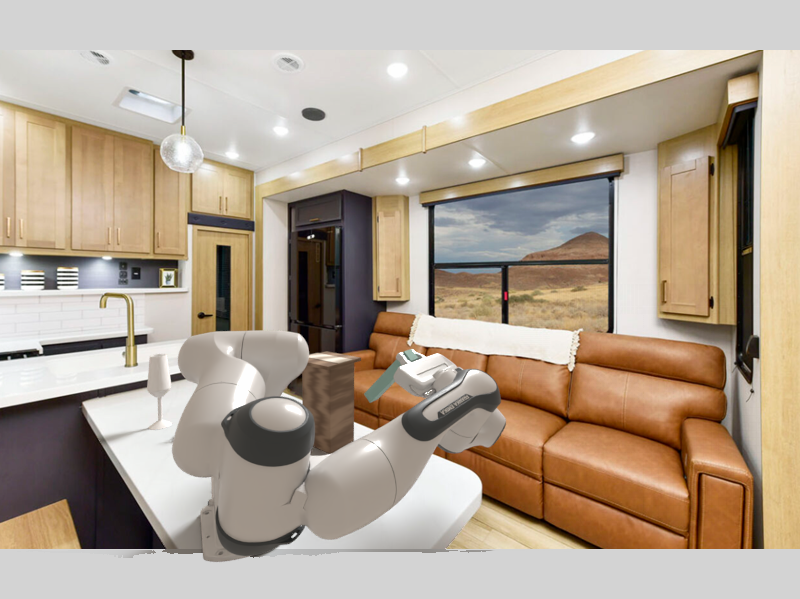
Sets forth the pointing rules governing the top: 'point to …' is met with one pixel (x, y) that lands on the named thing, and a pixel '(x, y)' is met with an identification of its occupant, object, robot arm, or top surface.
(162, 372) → the champagne flute
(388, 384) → the bar
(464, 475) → the top surface
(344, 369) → the stand
